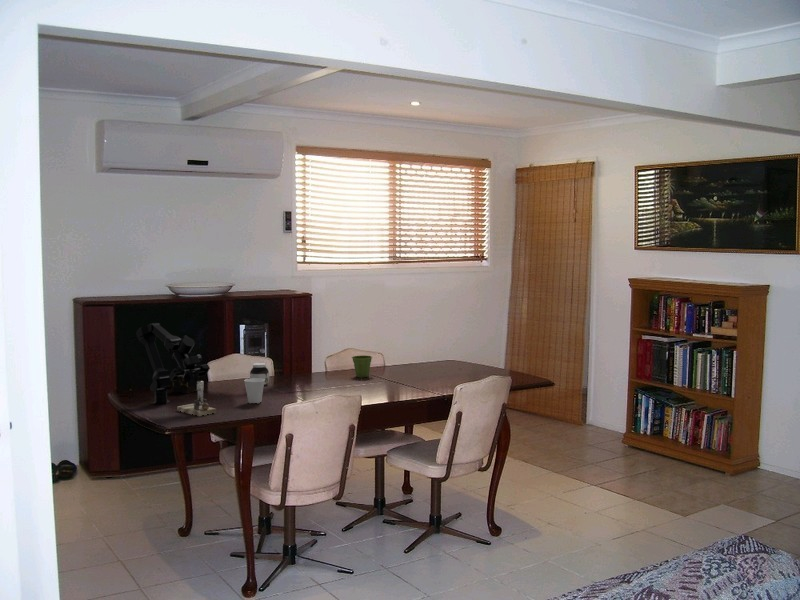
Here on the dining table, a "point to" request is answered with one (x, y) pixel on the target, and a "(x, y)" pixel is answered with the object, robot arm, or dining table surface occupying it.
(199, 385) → the lever
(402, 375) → the dining table surface
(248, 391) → the cup
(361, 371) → the plant pot
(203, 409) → the nutcracker board
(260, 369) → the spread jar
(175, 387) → the yellow black cube
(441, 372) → the dining table surface
